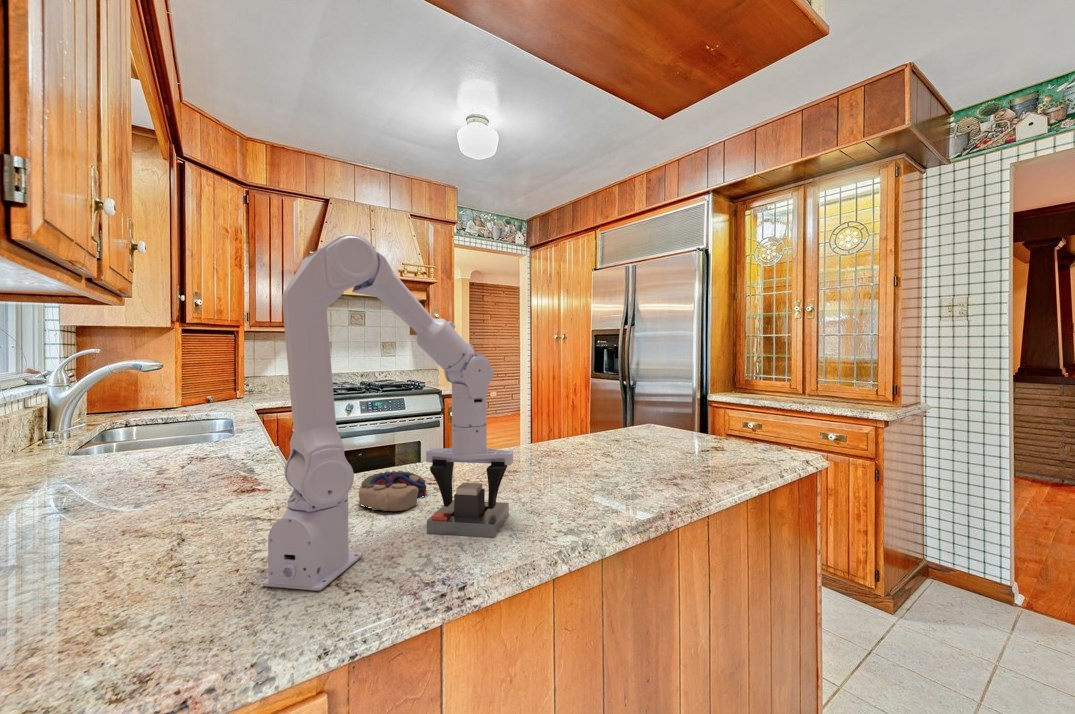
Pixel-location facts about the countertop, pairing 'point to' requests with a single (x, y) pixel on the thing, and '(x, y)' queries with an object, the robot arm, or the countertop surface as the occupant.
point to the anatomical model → (392, 490)
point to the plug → (469, 500)
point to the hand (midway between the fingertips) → (469, 505)
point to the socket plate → (468, 521)
